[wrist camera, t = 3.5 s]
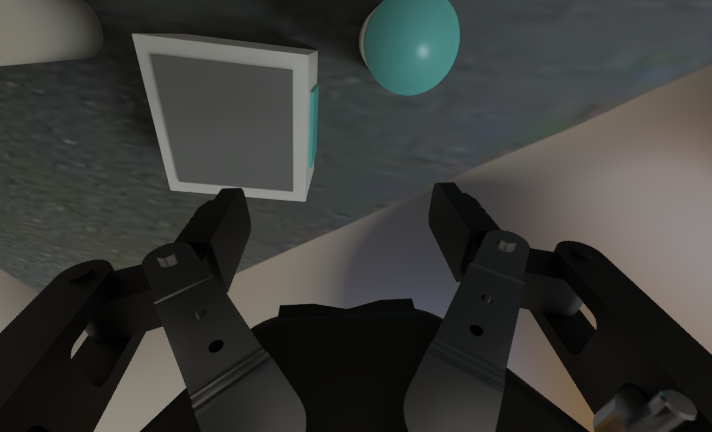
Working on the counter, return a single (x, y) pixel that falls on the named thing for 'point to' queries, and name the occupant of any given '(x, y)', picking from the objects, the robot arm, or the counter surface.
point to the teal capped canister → (410, 44)
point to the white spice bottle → (48, 31)
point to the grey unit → (232, 113)
